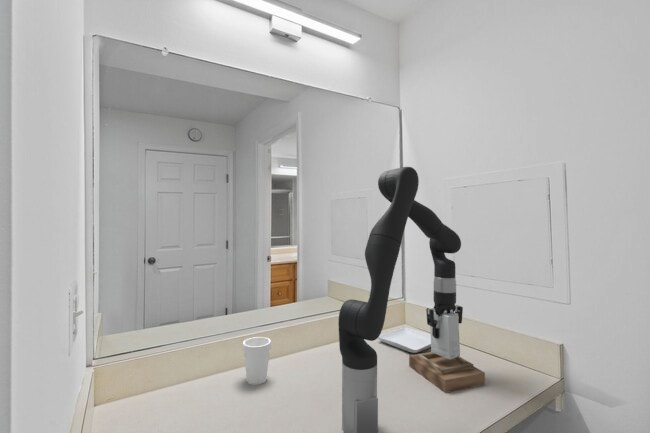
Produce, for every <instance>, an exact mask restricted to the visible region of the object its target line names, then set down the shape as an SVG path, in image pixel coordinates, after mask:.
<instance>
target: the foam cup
mask: <svg viewBox="0 0 650 433" xmlns="http://www.w3.org/2000/svg"><path fill="white" fill-rule="evenodd" d="M271 349H272V340H271V339H270V338H269V337H265V336H255V337H254V336H253V337H250V338H249V337H248V338H246V339H244V340H243V342H242V352H243V358H244V368H245V373H246V374H245V375H246V381H247V383H248V384H250V385H261V384H263V383H265V382H266V381H267V377H268V368H269V362H270V361H269V360H270V354H271V352H270V351H271Z"/></svg>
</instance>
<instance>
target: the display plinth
mask: <svg viewBox="0 0 650 433" xmlns="http://www.w3.org/2000/svg"><path fill="white" fill-rule="evenodd" d="M408 363H409V364H408V366H409V368H411V369H412V370H414V371H415V372H416V373H417V374H418V375H420V376H422V377H423V378H424V379H425V380H427V381H429V383H431V384H432V385H434V386H435V387H436V388H438V389H439V390H441V391H442V392H443V393H450V392H455V391H460V390H466V389H471V388H475V387H480V386H484V385H485V384H486V380H485V379H486V373H485V371H483V370H481V369H480V368H478V367H475V366H474V364H473V363H472V362H470V361H468V360H467V359H464V358H463V357H461V356H459V357H456V358H453V359H447V358H445V357H442V356H440V355H437V354H434V353H432V352H431V351H429V352H422V353H415V354H411V355H410V354H409V357H408Z"/></svg>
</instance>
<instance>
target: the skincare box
mask: <svg viewBox="0 0 650 433" xmlns="http://www.w3.org/2000/svg"><path fill="white" fill-rule="evenodd" d="M434 313H435V312H434ZM434 317H436V318H438V319H439V318H440V316H438V315H436V313H435V315H434ZM458 318H459V317H458V313H455V312H454V313H452V314H451V313H446V314H445V315H442V323H440V325H439V339H436V338H434V337H433V335H432V326H430V325H429V327H430V328H429V330H430V334H431V347H430V352H432V353H434V354H437V355H440V356H442V357H445V358H447V359H453V358H456V357H461V349H460V348H461V346H460V343H461V342H460V327H459V326H460V323H459V321H458ZM436 323H437V320H436Z"/></svg>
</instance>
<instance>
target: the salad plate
mask: <svg viewBox="0 0 650 433" xmlns="http://www.w3.org/2000/svg"><path fill="white" fill-rule="evenodd" d="M377 339H378V340H379V341H381V342H383V343H385V344H387V345H389V346H392V347H395V348H397V349H400V350H402V351H406V352H408V353H412V354H419V353H421V352H423V351H425V350H428V349H431V333H428V332H425V331H421V330H418V329H415V328H410V327H407V326H404V327H401V328H398V329H395V330H390V331H387V332H385V333H381V334H380V335H379V337H378V338H377Z"/></svg>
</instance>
